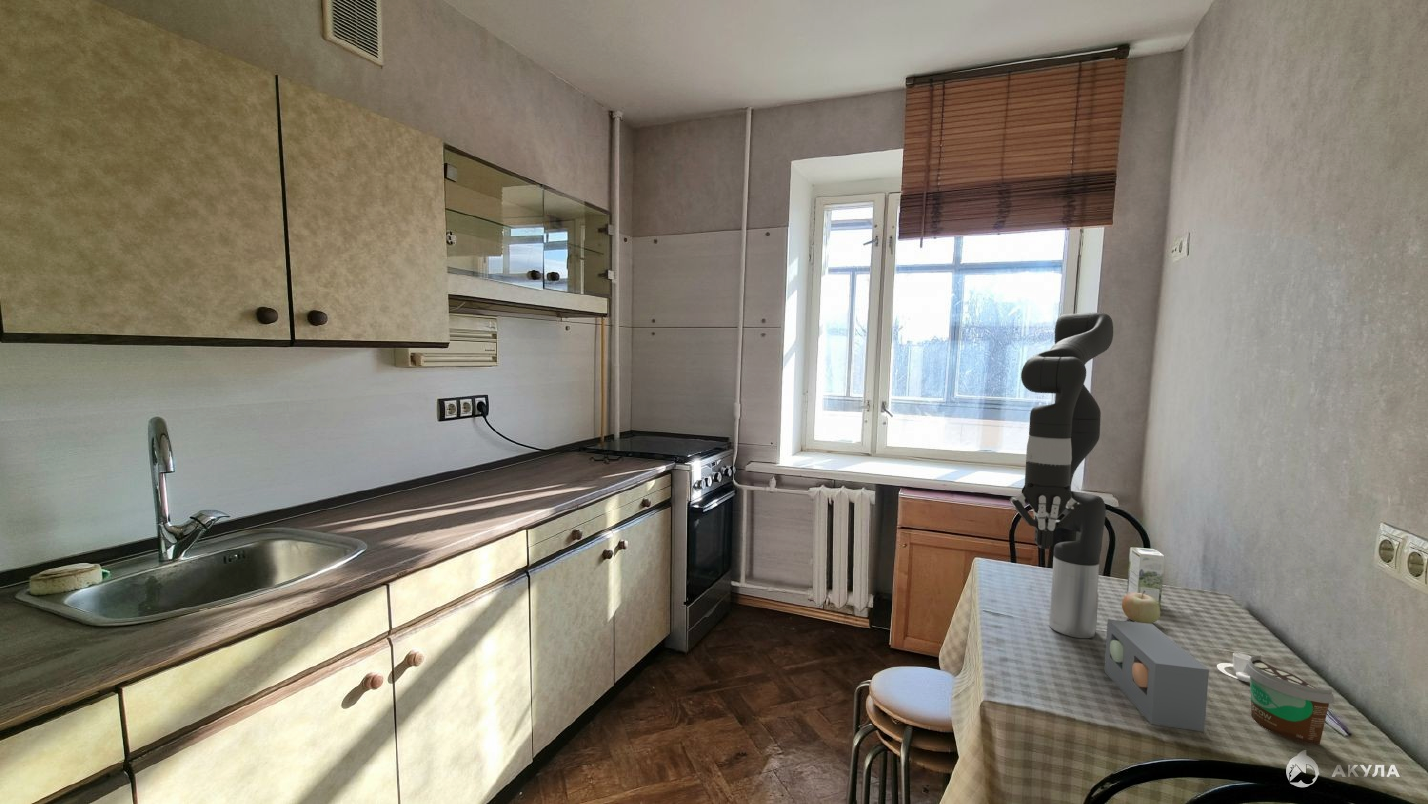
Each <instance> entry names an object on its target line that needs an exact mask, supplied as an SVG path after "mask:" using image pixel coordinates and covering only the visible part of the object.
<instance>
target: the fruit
mask: <svg viewBox="0 0 1428 804" xmlns="http://www.w3.org/2000/svg"><path fill="white" fill-rule="evenodd" d="M1144 593H1145V591H1144V592H1143V594H1142V593H1130V594H1127V593H1126V595H1125V596H1123V598H1122V601H1121V607H1122V612H1123V613H1124V615H1125V616H1126V617H1127V618H1128V619H1129V620H1130V621H1131V622H1138V623H1148V624H1154V623H1157V621H1158V620H1159V619H1160V617H1161V606H1160V607H1159V604H1158V603H1157V601H1156V600H1155V599H1154V598H1152V597H1150V596H1148V595H1145V594H1144Z"/></svg>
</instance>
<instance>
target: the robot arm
mask: <svg viewBox="0 0 1428 804" xmlns="http://www.w3.org/2000/svg"><path fill="white" fill-rule="evenodd" d="M1054 326H1055V327H1054V345H1053V346H1051V348H1050V349H1049V350H1048V349H1047V350H1045V351H1043V352H1039V353H1038V354H1035V355H1033V356H1031V357H1029V358H1028V359H1027V361H1026V362H1025V363H1024V364H1023V366H1022V369H1021V371H1020V372H1021V373H1020V378H1021V380H1020V381H1021V383H1022V385H1023V386H1024V388H1025V389H1026V390H1028V391H1030V392H1032V393H1035V394H1036V393H1037V394H1055V397H1054V403H1052V404H1044V405H1037V406H1034V407H1032V408H1031V410H1030V413H1029V414H1030V415H1029V426H1028V427H1029V428H1028V440H1027V445H1026V454H1025V455H1026V457H1025V473H1024V486H1023V487H1022V489H1021V493H1020V494H1018V495H1016V496H1015V497H1014V496H1012V497H1010V498H1009V502H1010V504H1011V505H1012V506H1013V508H1014V509H1015V511H1016V512H1017V513H1018V514H1019V516H1021V518H1022V520H1023V521H1024V522H1025V524H1026V523H1027V524H1028V525H1029V526H1030V527H1034V543H1035V544H1036V546H1037V547H1038V548H1039V549H1044V550H1049V549H1050V547H1053V558H1052V560H1053V561H1052V577H1051V594H1050V610H1049V622H1048V623H1049V627H1050V628H1051V629H1053V630H1054V631H1055V632H1057V633H1059V634H1062V635H1065V636H1069V637H1073V638H1077V639H1091V638H1094V637H1095V636H1096V632H1097V622H1098V605H1099V592H1098V591H1099V576H1100V575H1099V573H1100V561H1101V559H1100V558H1101V553H1102V548H1103V537H1104V536H1103V535H1104V529H1105V522H1106V511H1107V510H1106V503H1105V500H1104V499H1103V498H1102V497H1101V496H1100V495H1096V494H1092V493H1091V494H1090V493H1086V492H1080V491H1074V490H1072V481H1073V477H1074V475H1075V472H1076V471H1077V470H1078V469H1077V468H1078V467H1079V466H1080V464H1082V462H1083V461H1084V460H1085V459H1086V457H1088V455H1089V454H1090V453H1091V452H1092V451H1093V449H1094V448H1095V447H1096V445H1097V443H1098V442H1099V440H1100V436H1101V435H1100V434H1101V414H1102V412H1101V409H1100V406H1099V404H1098V402H1097V401H1096V399H1095V398H1094V396H1093V395H1092V393H1091V392H1090V390H1088V388H1087V387H1086V385H1085V381H1086V378H1087V368H1086V367H1087V366H1086V364H1087V363H1088V362H1090V361H1091V360H1092V359H1094V358H1096V357H1098V356H1099V355H1101V354H1103V353H1105V352H1106V351H1107V350H1109V348H1110V347H1111V345H1112V341H1113V338H1114V323H1113V319H1112V317H1111V316H1110V315H1109V314H1107V313H1105V312H1085V313H1084V312H1079V313H1065V314H1061V315H1060V316H1058V318H1057V320H1056V322H1055V325H1054ZM1026 503H1028V505H1029V506H1030V508H1032V514H1033V517H1032V516H1031V514H1030V513H1029V512H1028V510H1027V509H1026V508H1025V506H1026ZM1057 529H1063V530H1064V529H1065V530H1068V531H1073V532H1078V533H1080V537H1079V539H1078V540H1074V541H1061V542H1058V543H1056V544H1055V545H1054V546H1053V544H1054V532H1055V530H1057Z"/></svg>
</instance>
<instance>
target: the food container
mask: <svg viewBox="0 0 1428 804" xmlns="http://www.w3.org/2000/svg"><path fill="white" fill-rule="evenodd" d="M1261 657H1262V656H1261V654H1259V655H1253V656H1251V658H1250V660H1249V661H1248V662H1247V665H1246V667H1245V671H1246V673H1247V674H1248V675H1249V676H1250V684H1249V685H1250V687H1249V688H1250V707H1251V708H1250V709H1251V711H1250V712H1251V713H1250V715H1251V718H1252V719H1253V721H1254V720H1255V721H1256V722H1255V723H1256V724H1258V725H1259V726H1260V727H1262V726H1263V727H1262V728H1264V729H1265V728H1266V729H1265V730H1267V729H1268V731H1269V730H1270V731H1269V732H1271V733H1273V734H1276V735H1278V736H1281V737H1284V738H1286V739H1289V740H1293V741H1295V742H1300V743H1305V744H1310V745H1320V744H1321V741H1322V737H1323V736H1322V735H1323V733H1324V732H1323V731H1324V728H1325V723H1326V719H1327V716H1328V710H1329V708H1330V707H1329V706H1330V704H1335V699H1334V698H1335V696H1334V694H1332V693H1333V692H1332V691H1333V690H1332V689H1329V688H1328V689H1326V688H1325V689H1324V688H1317V687H1315V686H1313V685H1311V684H1309V683H1308V682H1306V681H1305V680H1303V679H1302V678H1300V677H1298V676H1297V675H1295V674H1293V673H1290V672H1289V671H1285V670H1282V669H1279V668H1277V667H1275V666H1272V665H1271V664H1268V663H1266V662H1265V661H1262V660H1261V659H1262V658H1261Z"/></svg>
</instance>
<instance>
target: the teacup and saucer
mask: <svg viewBox="0 0 1428 804" xmlns="http://www.w3.org/2000/svg"><path fill="white" fill-rule="evenodd" d="M1251 657H1252V656H1250V655H1249V654H1247V653H1242V652H1233V653H1232V663H1229V662H1222V663H1218V664H1217V665H1216V669H1217V670H1219V672H1220V673H1223V674H1224V675H1226V676H1229V677H1230V678H1234V679H1236V680H1238V681H1242V682H1245V683H1250V676H1249V675H1248V674H1247V673H1246V671H1245V667H1246V665H1247V662H1248V661H1249V660H1250V658H1251ZM1228 667H1231V668H1233V671H1234V673H1235V675H1233V674H1231V673H1229V672H1228V671H1226V670H1225V668H1228Z"/></svg>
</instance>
